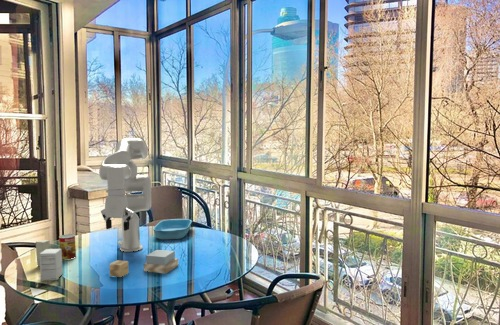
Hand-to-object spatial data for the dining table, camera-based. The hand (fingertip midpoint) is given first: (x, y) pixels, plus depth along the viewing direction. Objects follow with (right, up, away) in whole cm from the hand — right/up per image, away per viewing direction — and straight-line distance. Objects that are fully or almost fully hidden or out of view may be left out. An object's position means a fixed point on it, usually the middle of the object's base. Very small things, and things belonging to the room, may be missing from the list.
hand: (117, 229), depth 185 cm
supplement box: (-30, -23, -1) cm, 38 cm away
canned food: (-36, -20, +29) cm, 50 cm away
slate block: (+18, -17, +10) cm, 27 cm away
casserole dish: (+11, -17, +78) cm, 80 cm away
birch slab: (+18, -21, +11) cm, 30 cm away
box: (-42, -21, +16) cm, 50 cm away
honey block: (0, -22, +2) cm, 22 cm away
